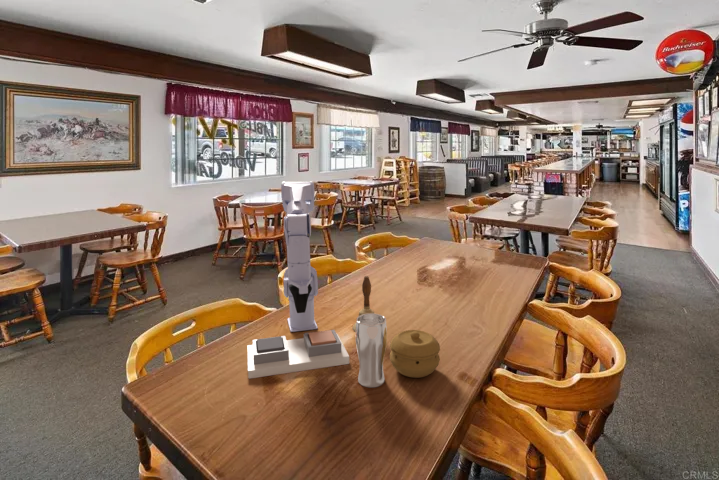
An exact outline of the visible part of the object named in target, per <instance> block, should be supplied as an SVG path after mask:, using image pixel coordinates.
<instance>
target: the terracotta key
mask: <svg viewBox="0 0 719 480" xmlns="http://www.w3.org/2000/svg"><path fill="white" fill-rule="evenodd" d="M327 330H328V331H327ZM327 330H320V332H319V331H312V333H311V332H307V333H308V334H309V341H310V344H311V346H313V345H321V344H328V343H336V339H335V337H334V335H333V333H332V331H331V330H332V329H327Z"/></svg>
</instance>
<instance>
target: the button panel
mask: <svg viewBox="0 0 719 480" xmlns="http://www.w3.org/2000/svg"><path fill="white" fill-rule="evenodd" d="M328 330H329V329H327V330H326V331H328ZM330 330H331V331H332V333H333V335H334V337H335V339H336V343H328V344H321V345H313V346H311V344H310V341H309V334H308V333H309V332H304V333H303V337H301V338H294V339H288V340H287V337H286V335H281V338H282V343H283V348H284V349H283V350H276V351H268V352H261V353H258V346H257V338H256V339H255V338H254V339H252V344H248V345H246V347H247V349H246V350H247V377H248V380H250V379H256V378H262V377H268V376H275V375H276V376H277V375H283V374H289V373H296V372H301V371H304V372H305V371H309V370H316V369H324V368H330V367H335V366H341V365H349V364H350V355H349V353H348V351H347V349H346V347H345V345H344V344H343V341H342V340H341V338H340V336H339V334H338V333H337V332H336V330H335V329H330ZM320 331H321V330H320ZM320 331H318V332H320ZM312 332H313V331H312ZM312 332H310V333H312ZM278 337H280V336H278ZM264 338H265V337H264ZM264 338H262V339H264ZM270 338H272V337H270Z"/></svg>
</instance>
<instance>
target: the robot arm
mask: <svg viewBox="0 0 719 480" xmlns="http://www.w3.org/2000/svg"><path fill="white" fill-rule="evenodd" d="M280 186H281V187H280V193H281V195H280V196H281V202H282V207H283V211H284V212H285V213H286V216H284V217H283V231H284V233H283V234H284V237H285V245H286V254H287V256H286V257H287V258H286V259H287V260H286V261H287V269H285V271H284V272H283V273H284V274H283V295H284V297H285V298H288V303H289V304H288V305H289V317H288V318H287V324H288V327H289V331H290V333H292V332H293V333H295V332H302V331H311V330H318V328H319V327H318V325H317V322H316V320H315V301H314V299H315V297H317V295H319V285H318V284H319V283H318V282H319V280H318V279H319V278H318V273H317V270H316V268H314V267H313V266H311V245H310V244H311V241H310V237H311V233H312V221H311V220H312V219H311V216H310V213H311V212H312V211H314V207H315V182H313V181H312V180H310V181H282V182H281V184H280Z"/></svg>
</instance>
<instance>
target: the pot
mask: <svg viewBox="0 0 719 480" xmlns="http://www.w3.org/2000/svg"><path fill="white" fill-rule="evenodd" d="M389 348H390V350H391V351H390V353H389V359H390V362H391V364H392V367H394V369H395V370H396V372H397V373H399V374H401V375H402V376H405V377H407V378H408V377H409V378H413V379H414V378H415V379H417V378H418V379H419V378H425V377H427V376H429V375H430V374H432V373H433V372H434V371H435V370H436V369H437V368H438V366H439V363H440V360H441V358H440V355H439V353H440V351H441V346H440V342H439V341H438V340H437V338H436V337H435V336H434V335H432V334H430V333H429V332H427V331H424V330H420V329H408V330H402V331H400V332H398V333H397V334H396V335H394V336H393V337H392V339H391V340H390V343H389Z"/></svg>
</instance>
